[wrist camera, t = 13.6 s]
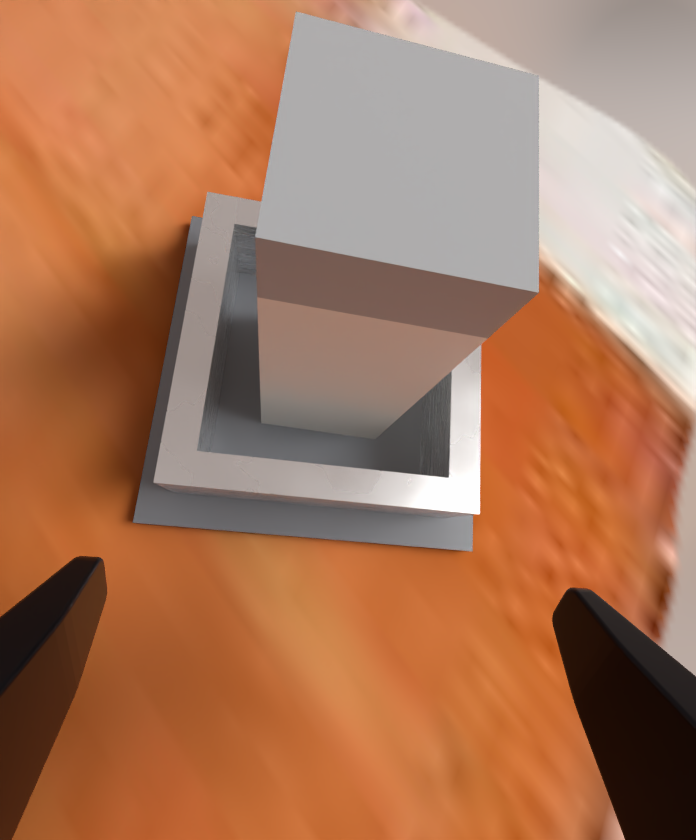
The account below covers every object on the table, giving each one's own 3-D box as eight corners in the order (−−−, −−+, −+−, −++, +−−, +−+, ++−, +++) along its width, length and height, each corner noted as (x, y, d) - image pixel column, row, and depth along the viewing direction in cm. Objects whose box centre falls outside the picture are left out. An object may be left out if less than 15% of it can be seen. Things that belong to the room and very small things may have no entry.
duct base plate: (466, 551, 21) (472, 551, 20) (136, 523, 19) (132, 522, 18) (470, 272, 24) (475, 266, 24) (193, 224, 22) (192, 216, 22)
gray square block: (374, 439, 21) (538, 292, 8) (261, 423, 20) (255, 236, 8) (384, 336, 22) (538, 75, 10) (278, 317, 21) (296, 12, 9)
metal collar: (444, 518, 20) (479, 513, 17) (173, 492, 19) (153, 482, 15) (450, 284, 23) (482, 242, 20) (216, 244, 22) (207, 191, 18)
